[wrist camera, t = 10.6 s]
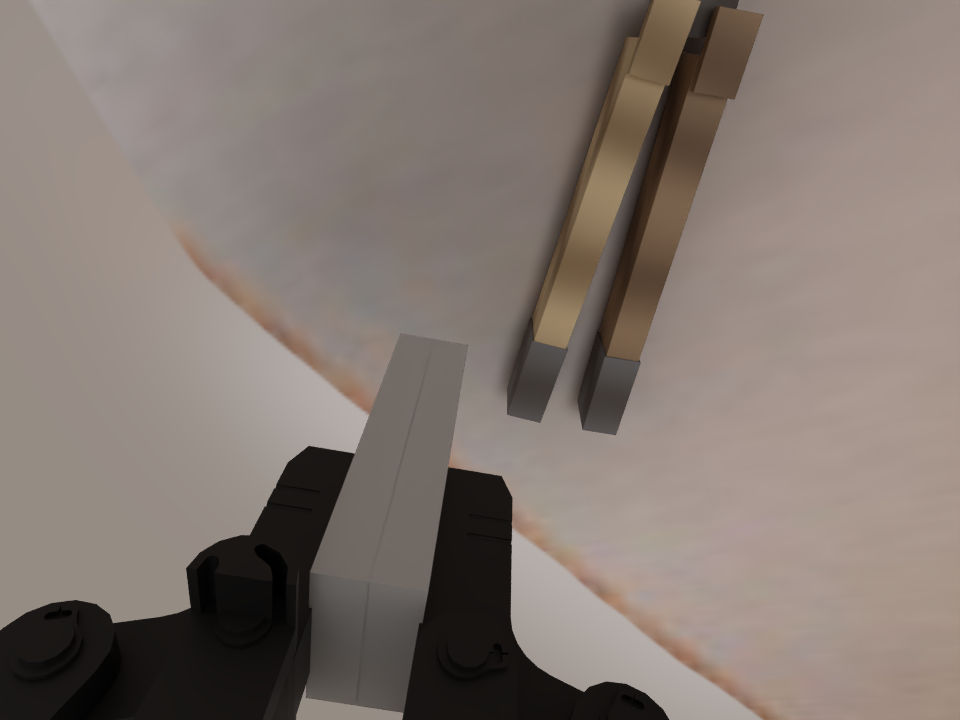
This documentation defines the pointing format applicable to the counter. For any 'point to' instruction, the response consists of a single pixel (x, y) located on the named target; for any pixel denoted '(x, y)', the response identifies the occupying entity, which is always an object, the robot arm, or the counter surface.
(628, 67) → the tong arm
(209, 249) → the counter surface
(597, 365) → the base
